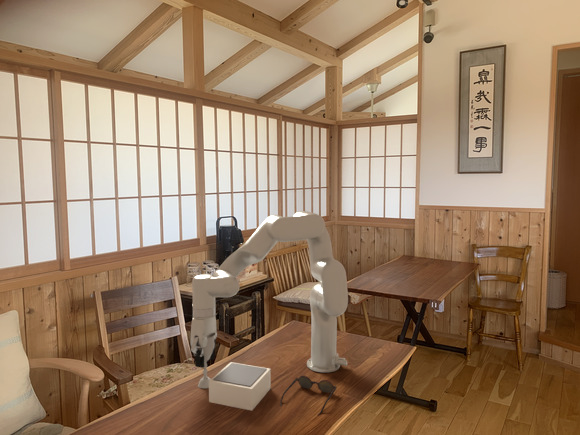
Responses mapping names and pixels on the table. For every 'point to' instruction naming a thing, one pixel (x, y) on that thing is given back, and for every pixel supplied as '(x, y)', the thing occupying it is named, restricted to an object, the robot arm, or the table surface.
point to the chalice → (207, 354)
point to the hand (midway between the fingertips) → (205, 362)
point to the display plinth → (240, 386)
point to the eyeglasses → (307, 383)
